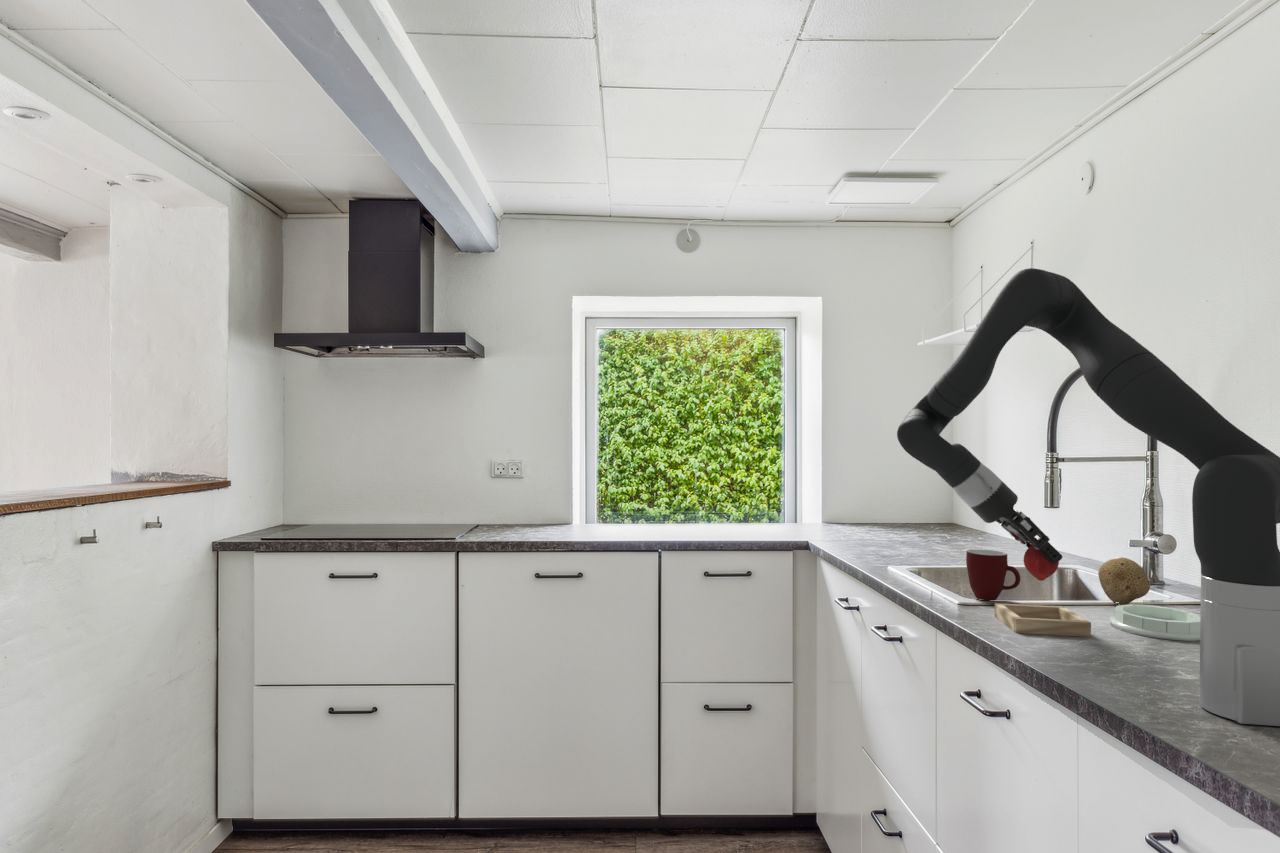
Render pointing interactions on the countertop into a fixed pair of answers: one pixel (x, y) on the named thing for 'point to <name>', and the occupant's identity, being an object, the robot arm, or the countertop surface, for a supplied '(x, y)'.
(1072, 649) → the countertop surface
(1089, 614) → the countertop surface
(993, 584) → the mug
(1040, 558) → the onion
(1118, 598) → the natural sponge
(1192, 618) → the dish
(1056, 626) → the holder
